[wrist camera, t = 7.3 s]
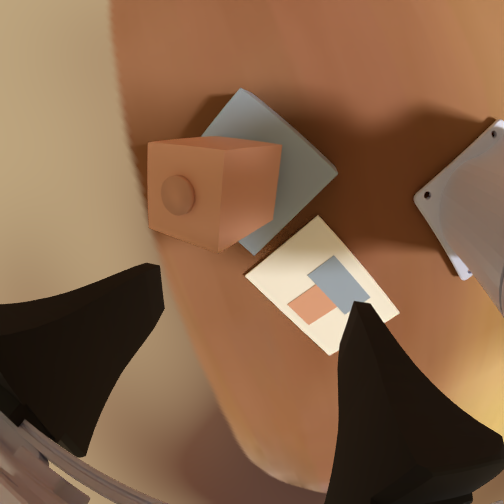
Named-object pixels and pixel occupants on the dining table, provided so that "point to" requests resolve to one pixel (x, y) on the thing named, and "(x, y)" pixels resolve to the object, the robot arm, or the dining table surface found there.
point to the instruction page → (318, 284)
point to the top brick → (211, 188)
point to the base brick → (291, 164)
